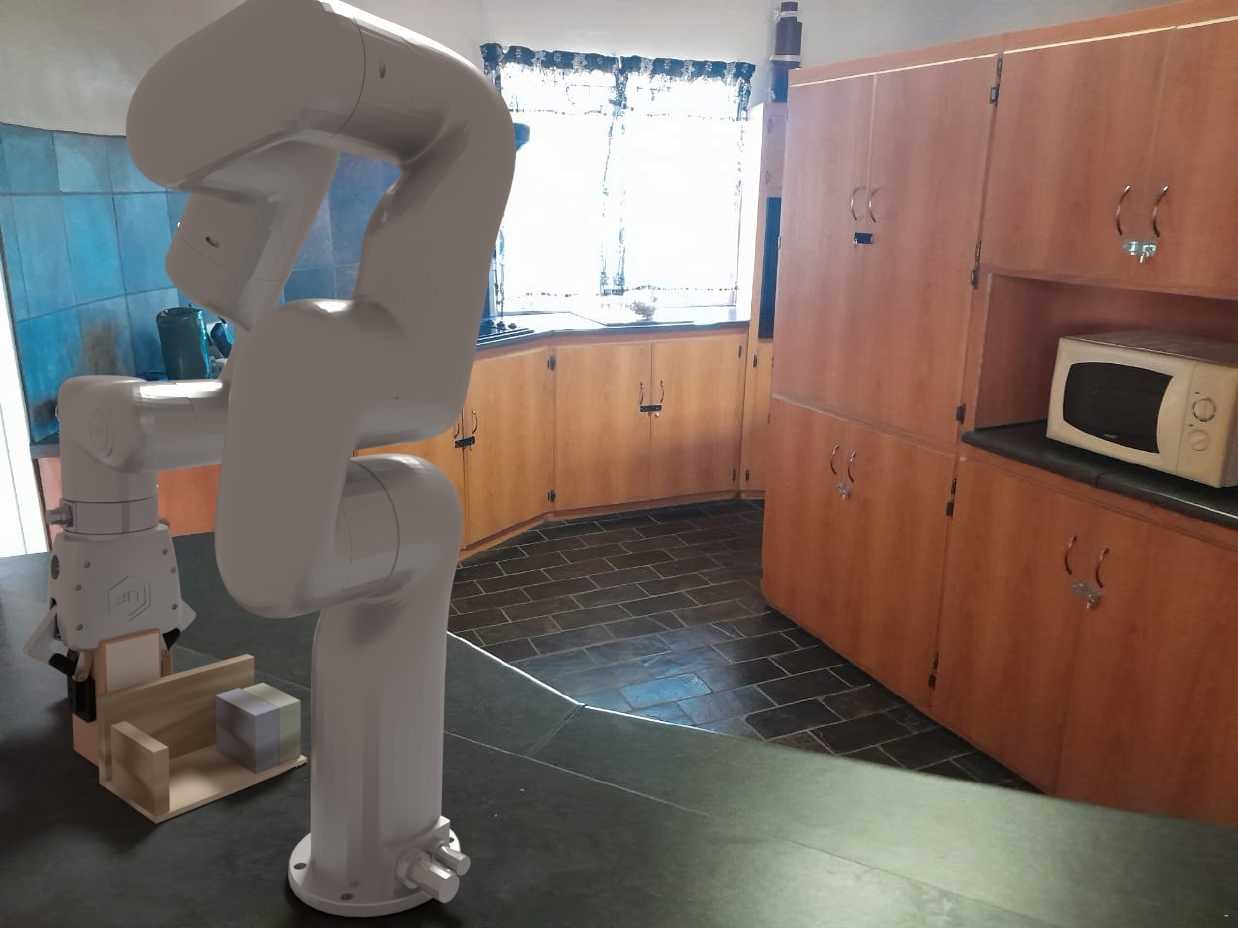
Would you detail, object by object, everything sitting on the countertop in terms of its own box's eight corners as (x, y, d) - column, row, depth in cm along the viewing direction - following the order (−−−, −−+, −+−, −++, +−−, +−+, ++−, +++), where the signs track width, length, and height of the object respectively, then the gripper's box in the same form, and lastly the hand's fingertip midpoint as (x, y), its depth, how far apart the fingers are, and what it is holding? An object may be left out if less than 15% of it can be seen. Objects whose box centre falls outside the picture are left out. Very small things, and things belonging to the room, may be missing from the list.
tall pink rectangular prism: (163, 753, 86) (160, 630, 84) (107, 773, 82) (103, 643, 80) (129, 732, 89) (125, 613, 88) (73, 749, 85) (69, 625, 84)
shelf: (307, 762, 85) (307, 680, 84) (156, 823, 74) (154, 729, 73) (247, 731, 91) (247, 653, 90) (99, 783, 80) (96, 695, 79)
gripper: (23, 537, 73) (32, 752, 76) (224, 509, 87) (226, 693, 90) (-15, 521, 78) (-5, 725, 80) (182, 497, 91) (185, 672, 94)
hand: (117, 706), depth 85 cm, fingers closed on tall pink rectangular prism, 5 cm apart
